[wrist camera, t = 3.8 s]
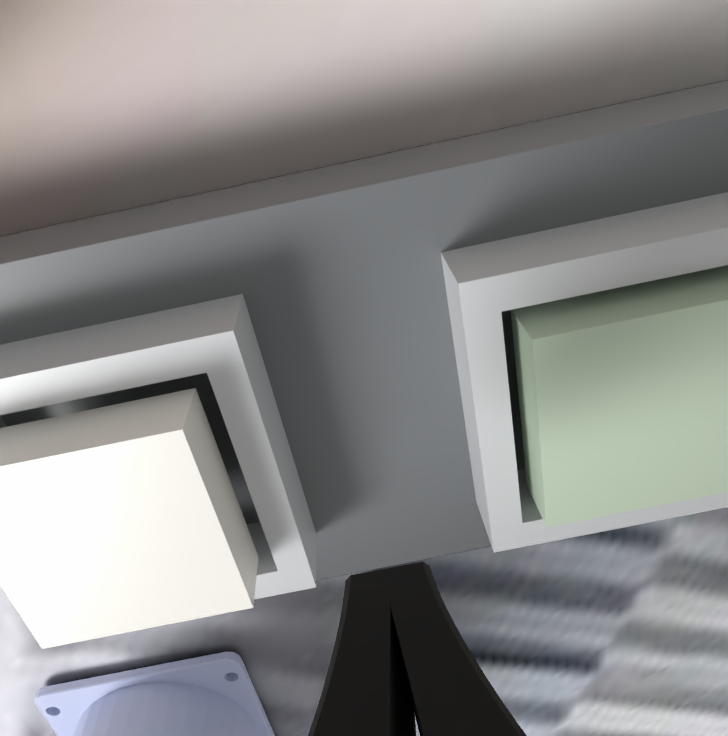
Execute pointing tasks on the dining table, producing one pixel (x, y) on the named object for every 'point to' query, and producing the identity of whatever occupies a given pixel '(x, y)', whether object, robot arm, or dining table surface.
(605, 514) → the sage key
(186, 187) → the dining table surface
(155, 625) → the pale key
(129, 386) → the key panel
